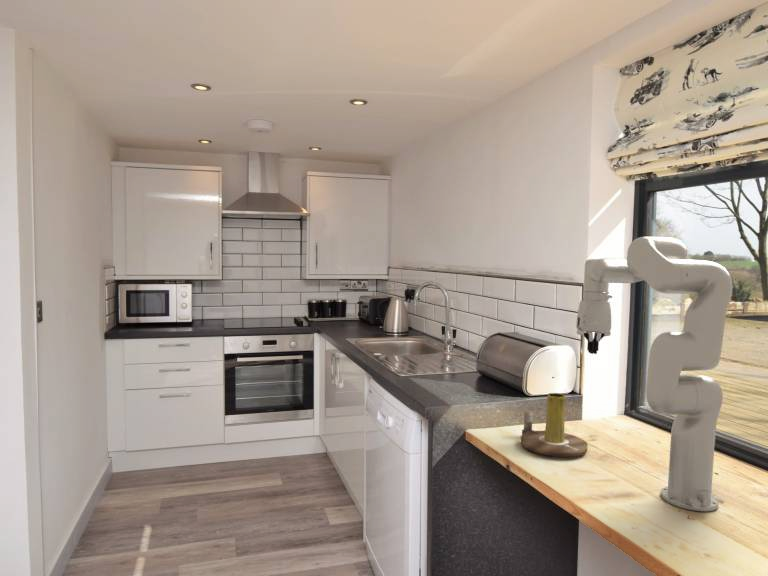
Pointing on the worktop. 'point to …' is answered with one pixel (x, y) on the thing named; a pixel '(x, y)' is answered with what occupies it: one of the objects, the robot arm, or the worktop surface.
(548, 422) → the vase
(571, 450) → the turntable
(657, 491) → the worktop surface
